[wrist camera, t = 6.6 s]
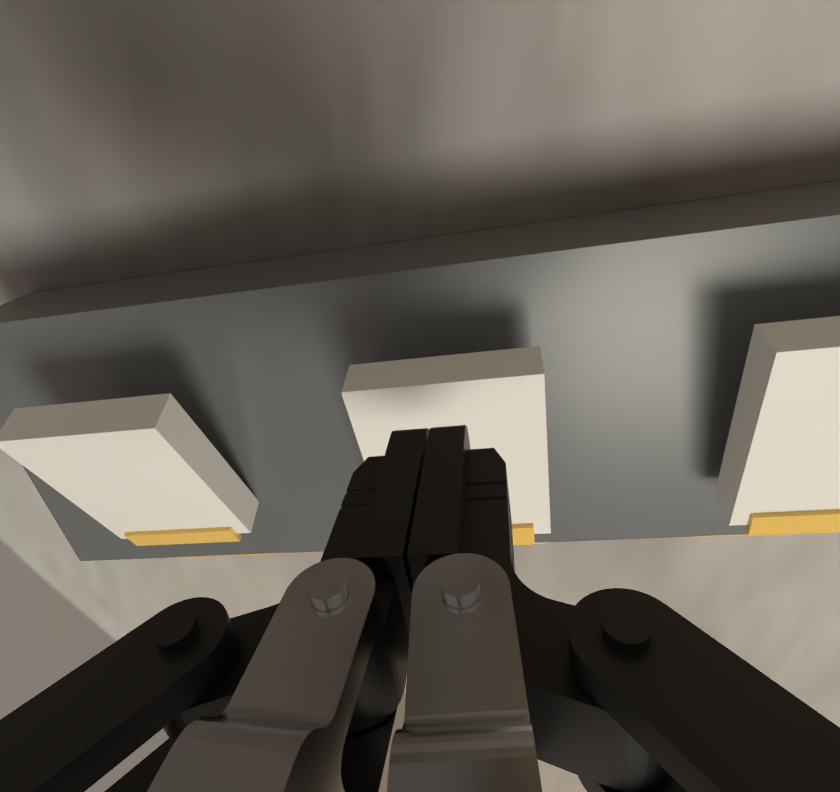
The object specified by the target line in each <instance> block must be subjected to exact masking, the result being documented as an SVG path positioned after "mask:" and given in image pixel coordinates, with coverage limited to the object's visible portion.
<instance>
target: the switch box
mask: <svg viewBox="0 0 840 792" xmlns="http://www.w3.org/2000/svg"><path fill="white" fill-rule="evenodd" d="M833 316H840V180H839V181H831V182H824V183H817V184H810V185H802V186H795V187H788V188H781V189H774V190H766V191H759V192H752V193H745V194H737V195H730V196H723V197H716V198H709V199H701V200H694V201H687V202H680V203H672V204H665V205H658V206H651V207H643V208H636V209H629V210H622V211H615V212H607V213H600V214H593V215H586V216H578V217H571V218H564V219H557V220H550V221H542V222H535V223H528V224H521V225H513V226H506V227H499V228H492V229H484V230H477V231H470V232H463V233H456V234H448V235H441V236H434V237H427V238H419V239H412V240H405V241H398V242H391V243H383V244H376V245H369V246H362V247H354V248H347V249H340V250H333V251H325V252H318V253H311V254H304V255H297V256H289V257H282V258H275V259H268V260H260V261H253V262H246V263H239V264H232V265H224V266H217V267H210V268H203V269H195V270H188V271H181V272H174V273H166V274H159V275H152V276H145V277H138V278H130V279H123V280H116V281H109V282H101V283H94V284H87V285H80V286H73V287H65V288H58V289H51V290H44V291H36V292H32V293H29V294H27V295H25V296H22V297H20V298H17V299H15V300H13V301H10V302H8V303H5V304H3V305H1V306H0V429H1V428H2V426H3V425H4V423H5V422H6V420H7V419H8V418H9V416H10V415H11V413H12V412H13V410H14V409H15V408H24V407H34V406H45V405H55V404H65V403H76V402H86V401H96V400H107V399H117V398H127V397H138V396H148V395H158V394H169V393H171V395H172V396H173V397H174V398H175V399H176V401H177V402H178V403H179V404H180V406H181V407H182V408H183V409H184V410H185V412H186V413H187V414H188V415H189V417H190V418H191V419H192V420H193V421H194V423H195V424H196V425H197V426H198V428H199V429H200V430H201V431H202V432H203V434H204V435H205V436H206V437H207V439H208V440H209V441H210V442H211V443H212V445H213V446H214V447H215V448H216V450H217V451H218V452H219V453H220V454H221V456H222V457H223V458H224V459H225V461H226V462H227V463H228V464H229V465H230V467H231V468H232V469H233V470H234V472H235V473H236V474H237V475H238V476H239V478H240V479H241V480H242V481H243V483H244V484H245V485H246V486H247V487H248V489H249V490H250V491H251V492H252V494H253V495H254V496H255V497H256V498H257V500H258V502H259V504H258V508H257V512H256V516H255V519H254V523H253V527H252V531H251V533H239V534H240V535H241V540H240V541H238V542H216V543H193V544H171V545H148V546H136V545H135V544H134V543H132V542H131V541H130V540H128V539H121V538H119V537H118V536H117V535H115V534H114V533H113V532H111V531H110V530H109V529H107V528H106V527H105V526H103V525H102V524H101V523H99V522H98V521H97V520H95V519H94V518H93V517H91V516H90V515H89V514H87V513H86V512H85V511H83V510H82V509H81V508H79V507H78V506H77V505H75V504H74V503H73V502H71V501H70V500H69V499H67V498H66V497H65V496H63V495H62V494H60V493H59V492H58V491H56V490H55V489H54V488H52V487H51V486H50V485H48V484H47V483H46V482H44V481H43V480H42V479H40V478H39V477H38V476H36V475H35V474H34V473H32V472H31V471H30V470H28V469H27V468H26V467H24V466H23V465H22V466H23V467H24V469H25V470H26V472H27V474H28V475H29V477H30V479H31V480H32V482H33V484H34V485H35V487H36V489H37V490H38V492H39V494H40V495H41V497H42V499H43V500H44V502H45V504H46V505H47V507H48V509H49V510H50V512H51V513H52V515H53V517H54V518H55V520H56V522H57V523H58V525H59V527H60V528H61V530H62V532H63V533H64V535H65V537H66V538H67V540H68V542H69V543H70V545H71V547H72V548H73V550H74V552H75V553H76V555H77V556H78V558H79V560H80V561H92V560H117V559H142V558H167V557H171V558H180V557H205V556H230V555H255V554H280V553H292V552H316V551H324V550H325V548H326V545H327V542H328V539H329V537H330V534H331V531H332V529H333V526H334V523H335V520H336V518H337V515H338V512H339V509H341V504H342V501H343V499H344V496H345V494H347V491H346V490H347V488H348V485H349V482H350V480H351V477H352V474H353V472H354V471H355V470H356V469H357V468H358V467H359V466H360V465H361V464H362V463H363V462H364V460H363V457H362V454H361V451H360V448H359V445H358V442H357V439H356V436H355V433H354V430H353V427H352V424H351V421H350V418H349V415H348V412H347V409H346V406H345V403H344V400H343V397H342V394H341V391H342V388H343V385H344V382H345V378H346V375H347V372H348V369H349V366H350V365H354V364H364V363H374V362H384V361H394V360H404V359H414V358H424V357H434V356H444V355H454V354H464V353H474V352H484V351H494V350H504V349H514V348H524V347H534V346H540V351H541V357H542V363H543V369H544V376H545V401H546V425H547V450H548V475H549V499H550V524H551V533H547V534H534V538H535V543H547V542H566V541H591V540H616V539H640V538H665V537H690V536H695V537H706V536H731V535H747V533H746V530H745V529H746V526H747V525H734V526H729V524H728V522H727V520H726V518H725V516H724V513H723V511H722V509H721V507H720V505H719V502H718V500H717V498H716V496H715V490H716V486H717V481H718V477H719V473H720V469H721V464H722V460H723V456H724V452H725V447H726V443H727V439H728V435H729V430H730V426H731V422H732V418H733V413H734V409H735V405H736V401H737V396H738V392H739V388H740V384H741V379H742V375H743V371H744V367H745V362H746V358H747V354H748V350H749V345H750V341H751V337H752V333H753V328H754V324H763V323H773V322H783V321H793V320H803V319H813V318H823V317H833Z"/></svg>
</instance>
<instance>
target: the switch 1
mask: <svg viewBox="0 0 840 792" xmlns="http://www.w3.org/2000/svg"><path fill="white" fill-rule="evenodd" d="M0 449H2V450H3V451H4V452H6V453H7V454H8V455H10V456H11V457H12V458H14V459H15V460H16V461H18V462H19V463H20V464H22V465H23V466H24V467H26V468H27V469H28V470H30V471H31V472H32V473H34V474H35V475H36V476H38V477H39V478H40V479H42V480H43V481H44V482H46V483H47V484H48V485H50V486H51V487H52V488H54V489H55V490H56V491H58V492H59V493H60V494H62V495H63V496H65V497H66V498H67V499H69V500H70V501H71V502H73V503H74V504H75V505H77V506H78V507H79V508H81V509H82V510H83V511H85V512H86V513H87V514H89V515H90V516H91V517H93V518H94V519H95V520H97V521H98V522H99V523H101V524H102V525H103V526H105V527H106V528H107V529H109V530H110V531H111V532H113V533H114V534H115V535H117V536H118V537H119V538H121V539H128V540H130V541H131V542H132V543H134V544H135V545H136V546H148V545H171V544H193V543H216V542H238V541H240V540H241V535H240V534H239V533H251V531H252V527H253V523H254V519H255V516H256V512H257V508H258V504H259V502H258V500H257V498H256V497H255V496H254V495H253V494H252V492H251V491H250V490H249V489H248V487H247V486H246V485H245V484H244V483H243V481H242V480H241V479H240V478H239V476H238V475H237V474H236V473H235V472H234V470H233V469H232V468H231V467H230V465H229V464H228V463H227V462H226V461H225V459H224V458H223V457H222V456H221V454H220V453H219V452H218V451H217V450H216V448H215V447H214V446H213V445H212V443H211V442H210V441H209V440H208V439H207V437H206V436H205V435H204V434H203V432H202V431H201V430H200V429H199V428H198V426H197V425H196V424H195V423H194V421H193V420H192V419H191V418H190V417H189V415H188V414H187V413H186V412H185V410H184V409H183V408H182V407H181V406H180V404H179V403H178V402H177V401H176V399H175V398H174V397H173V396H172V395H171V393H169V394H158V395H148V396H138V397H127V398H117V399H107V400H96V401H86V402H76V403H65V404H55V405H45V406H34V407H24V408H15V409H14V410H13V412H12V413H11V415H10V416H9V418H8V419H7V420H6V422H5V423H4V425H3V426H2V428H1V429H0Z"/></svg>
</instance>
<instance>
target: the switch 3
mask: <svg viewBox="0 0 840 792" xmlns="http://www.w3.org/2000/svg"><path fill="white" fill-rule="evenodd" d="M715 496H716V498H717V500H718V502H719V505H720V507H721V509H722V511H723V513H724V516H725V518H726V520H727V522H728V524H729V526H734V525H747V526H746V529H745V530H746V533H747V535H748V536H755V535H780V534H805V533H831V532H840V316H833V317H823V318H813V319H803V320H793V321H783V322H773V323H763V324H754V328H753V333H752V337H751V341H750V345H749V350H748V354H747V358H746V362H745V367H744V371H743V375H742V379H741V384H740V388H739V392H738V396H737V401H736V405H735V409H734V413H733V418H732V422H731V426H730V430H729V435H728V439H727V443H726V447H725V452H724V456H723V460H722V464H721V469H720V473H719V477H718V481H717V486H716V490H715Z"/></svg>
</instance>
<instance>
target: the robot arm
mask: <svg viewBox="0 0 840 792" xmlns="http://www.w3.org/2000/svg"><path fill="white" fill-rule="evenodd" d="M346 491H347V494H345V496H344V499H343V501H342V504H341V509H339V512H338V515H337V518H336V520H335V523H334V526H333V529H332V531H331V534H330V537H329V539H328V542H327V545H326V548H325V550H324V553H323V556H322V559H321V561H320V562H319V563H316V564H314V565H312V566H310V567H309V568H307V569H305V570H304V571H303V572H301V573H300V574H299V575H298V576H297V577H296V578H295V579H294V580H293V581H292V582H291V583H290V585H289V586H288V588H287V590H286V591H285V593H284V595H283V597H282V599H281V601H280V603H278V604H276V605H273V606H270V607H267V608H264V609H261V610H257V611H254V612H251V613H247V614H244V615H241V616H237V617H234V618H231V619H230V618H229V616H228V613H227V611H226V609H225V608H224V606H223V605H222V604H221V603H220V602H219V601H217V600H214V599H211V598H206V597H198V598H191V599H187V600H183V601H181V602H178V603H175V604H173V605H171V606H169V607H167V608H166V609H164V610H162V611H161V612H159V613H158V614H156V615H155V616H153V617H152V618H150V619H149V620H147V621H146V622H144V623H143V624H141V625H140V626H138V627H137V628H135V629H134V630H132V631H131V632H129V633H128V634H126V635H125V636H124V637H122V638H121V639H119V640H118V641H116V642H115V643H113V644H112V645H110V646H109V647H107V648H106V649H104V650H103V651H101V652H100V653H99V654H97V655H95V656H94V657H92V658H91V659H90V660H88V661H87V662H85V663H84V664H82V665H81V666H79V667H78V668H76V669H75V670H73V671H72V672H71V673H69V674H67V675H66V676H65V677H63V678H61V679H60V680H58V681H57V682H56V683H54V684H53V685H51V686H50V687H48V688H47V689H45V690H44V691H42V692H41V693H39V694H38V695H36V696H35V697H33V698H32V699H30V700H29V701H28V702H26V703H24V704H23V705H22V706H20V707H19V708H17V709H16V710H14V711H13V712H11V713H10V714H8V715H7V716H5V717H4V718H3V719H1V720H0V792H84V791H86V790H87V789H88V788H89V787H91V786H92V785H93V784H94V783H96V782H97V781H98V780H99V779H101V778H102V777H103V776H104V775H105V774H107V773H108V772H109V771H110V770H112V769H113V768H114V767H115V766H117V765H118V764H119V763H120V762H122V761H123V760H124V759H125V758H127V757H128V756H129V755H130V754H131V753H133V752H134V751H135V750H136V749H138V748H139V747H140V746H141V745H143V744H144V743H145V742H146V741H148V740H149V739H150V738H151V737H152V736H154V735H155V734H156V733H157V732H158V731H160V730H161V729H162V728H164V730H165V731H166V733H167V735H168V736H169V739H168V740H167V741H165V742H164V743H163V744H162V745H160V746H159V747H158V748H157V749H156V750H154V751H153V752H152V753H151V754H150V755H148V756H147V757H146V758H145V759H144V760H142V761H141V762H140V763H139V764H137V765H136V766H135V767H134V768H133V769H131V770H130V771H129V772H128V773H127V774H125V775H124V776H123V777H122V778H121V779H119V780H118V781H117V782H116V783H115V784H113V785H112V786H111V787H110V788H108V789H107V790H106V791H105V792H542V788H541V781H540V774H539V767H538V761H537V759H539V760H541V761H544V762H546V763H549V764H551V765H554V766H556V767H559V768H561V769H564V770H566V771H569V772H572V773H574V774H577V775H578V777H579V779H580V781H581V782H582V784H583V786H584V787H585V789H586V790H587V792H840V728H839V727H838V726H836V725H835V724H834V723H832V722H831V721H829V720H828V719H827V718H825V717H824V716H822V715H821V714H819V713H818V712H817V711H815V710H814V709H812V708H811V707H810V706H808V705H807V704H805V703H804V702H803V701H801V700H800V699H798V698H797V697H795V696H794V695H793V694H791V693H790V692H788V691H787V690H786V689H784V688H783V687H781V686H780V685H779V684H777V683H776V682H774V681H773V680H771V679H770V678H769V677H767V676H766V675H764V674H763V673H762V672H760V671H759V670H757V669H756V668H755V667H753V666H752V665H750V664H749V663H747V662H746V661H745V660H743V659H742V658H740V657H739V656H738V655H736V654H735V653H733V652H732V651H731V650H729V649H728V648H726V647H725V646H723V645H722V644H721V643H719V642H718V641H716V640H715V639H714V638H712V637H711V636H709V635H708V634H706V633H705V632H704V631H702V630H701V629H699V628H698V627H697V626H695V625H694V624H692V623H691V622H690V621H688V620H687V619H685V618H684V617H682V616H681V615H680V614H678V613H677V612H675V611H674V610H673V609H671V608H670V607H668V606H667V605H666V604H664V603H663V602H661V601H659V600H658V599H656V598H654V597H652V596H650V595H648V594H645V593H642V592H639V591H635V590H630V589H621V588H612V589H604V590H599V591H596V592H594V593H591V594H589V595H587V596H586V597H584V598H583V599H582V600H580V601H579V602H578V603H577V604H576V606H574V605H570V604H566V603H562V602H558V601H555V600H551V599H548V598H545V597H543V596H541V595H539V594H537V593H535V592H534V591H532V590H530V589H529V588H528V587H527V586H525V585H524V584H523V583H522V582H521V581H520V579H519V578H518V577H517V575H516V574H515V568H514V551H513V534H512V520H511V510H510V500H509V490H508V481H507V471H506V462H505V461H504V460H503V459H502V457H501V456H500V455H499V453H498V452H497V451H496V450H495V448H484V449H470V442H469V435H468V429H467V426H466V425H458V426H446V427H433V428H430V430H429V429H428V428H422V429H409V430H396V431H392V432H391V435H390V439H389V442H388V445H387V449H386V452H385V456H372V457H368V458H367V459H366V460H365V461H364V462H363V463H362V464H361V465H360V466H359V467H358V468H357V469H356V470H355V471H354V472H353V474H352V477H351V480H350V482H349V485H348V488H347V490H346ZM406 676H407V683H406ZM405 683H406V694H405V690H404V689H405Z"/></svg>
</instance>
